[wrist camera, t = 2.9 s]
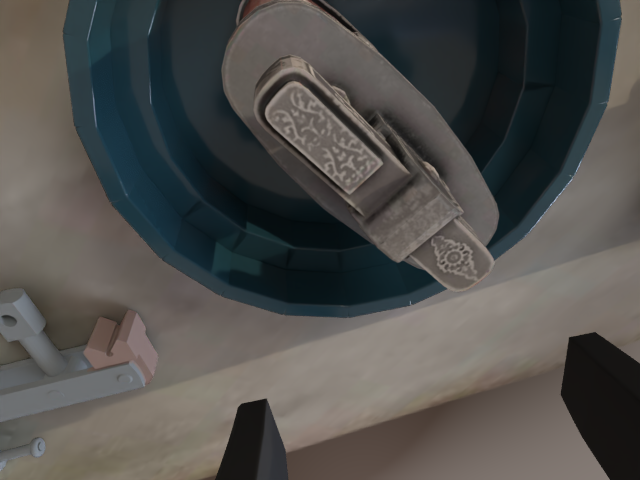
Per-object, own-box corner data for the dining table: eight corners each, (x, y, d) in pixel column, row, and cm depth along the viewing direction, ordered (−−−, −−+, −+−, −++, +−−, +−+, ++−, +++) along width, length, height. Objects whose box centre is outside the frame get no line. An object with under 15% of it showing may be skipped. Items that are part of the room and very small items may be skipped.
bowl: (561, -256, 13) (679, -331, 10) (525, 213, 22) (581, 272, 18) (24, -146, 13) (-69, -177, 10) (193, 279, 22) (179, 352, 18)
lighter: (438, 119, 18) (585, 273, 10) (373, 179, 20) (457, 363, 11) (283, -55, 15) (311, -40, 7) (214, 29, 16) (162, 136, 8)
